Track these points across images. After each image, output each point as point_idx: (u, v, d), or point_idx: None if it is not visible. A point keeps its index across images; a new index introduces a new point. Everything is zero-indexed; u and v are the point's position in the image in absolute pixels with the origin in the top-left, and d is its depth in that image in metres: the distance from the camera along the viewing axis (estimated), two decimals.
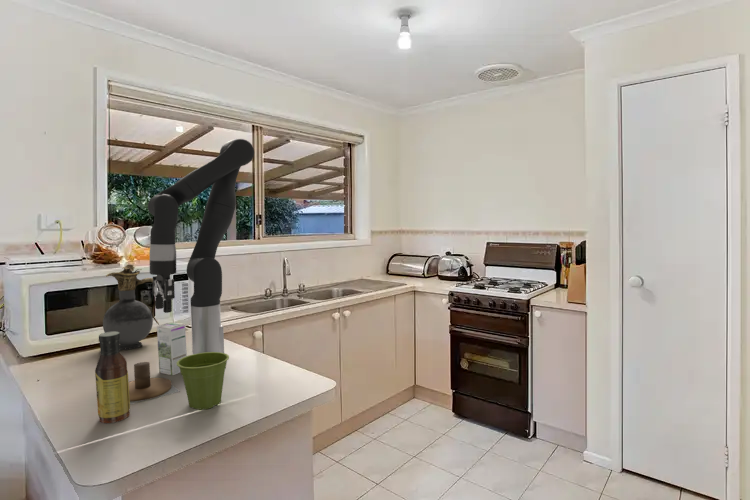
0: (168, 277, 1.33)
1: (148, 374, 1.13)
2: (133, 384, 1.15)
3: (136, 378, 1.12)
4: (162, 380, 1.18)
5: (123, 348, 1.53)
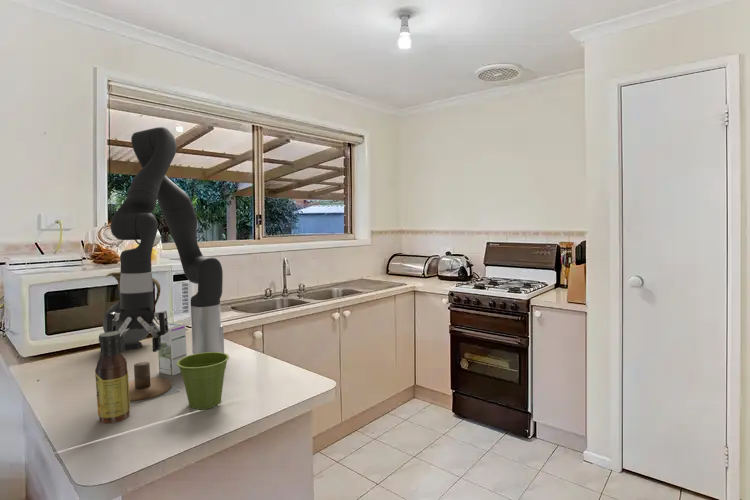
0: None
1: (148, 374, 1.13)
2: (133, 384, 1.15)
3: (136, 378, 1.12)
4: (162, 380, 1.18)
5: None
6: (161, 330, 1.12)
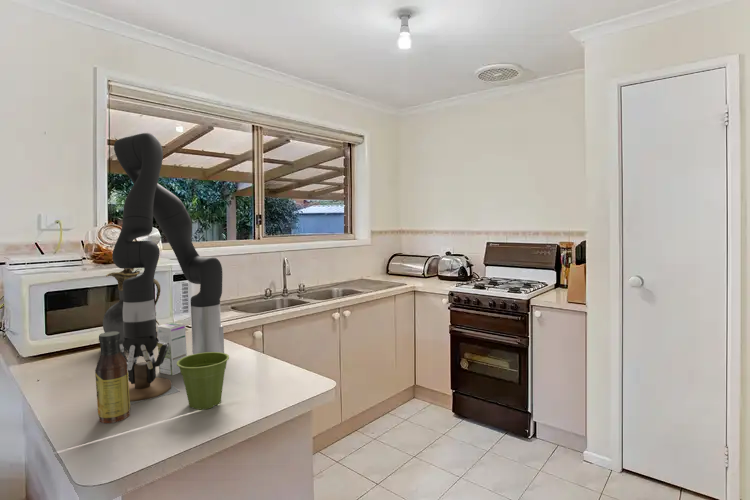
0: None
1: None
2: (133, 384, 1.15)
3: (136, 378, 1.12)
4: (162, 380, 1.18)
5: None
6: (157, 361, 1.13)
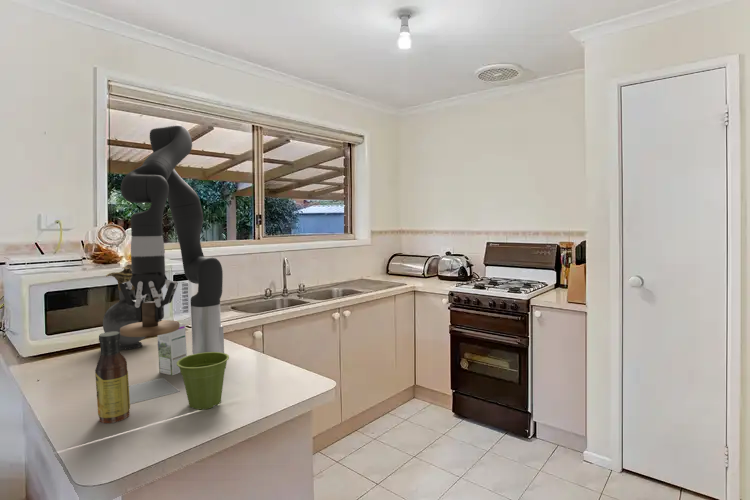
0: None
1: None
2: (141, 324, 1.12)
3: (143, 316, 1.09)
4: (170, 321, 1.15)
5: (123, 348, 1.53)
6: (165, 299, 1.09)
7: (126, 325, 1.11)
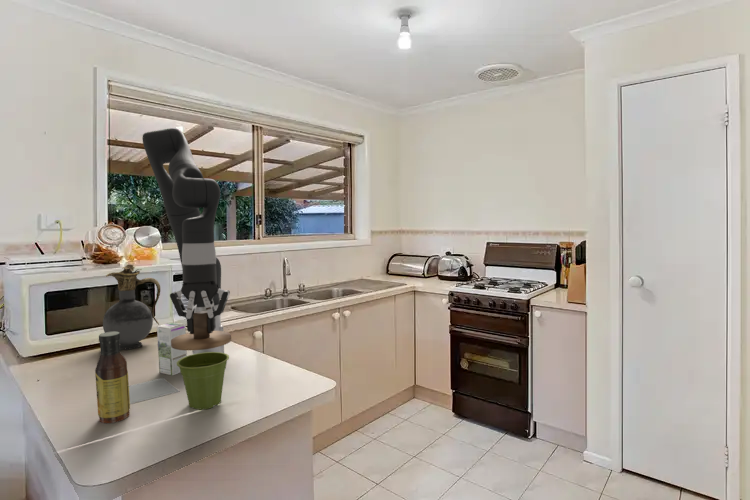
0: None
1: None
2: (190, 335, 1.06)
3: (195, 327, 1.03)
4: (220, 332, 1.09)
5: (123, 348, 1.53)
6: (218, 309, 1.04)
7: (175, 337, 1.05)
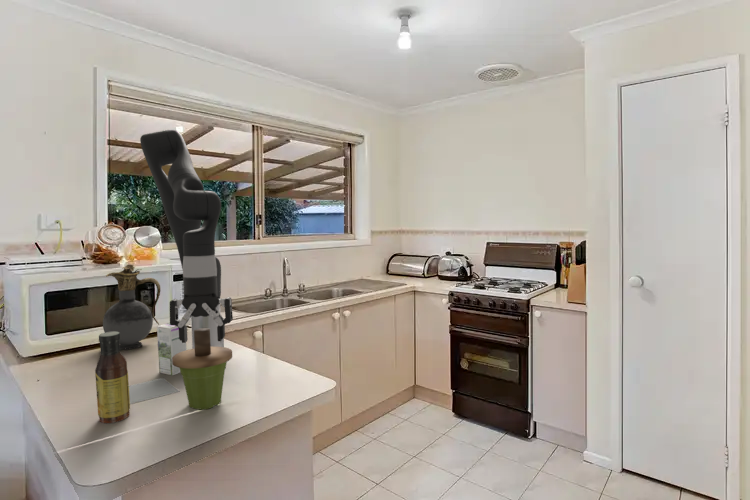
0: None
1: (209, 341, 1.05)
2: (191, 352, 1.07)
3: (197, 344, 1.03)
4: (221, 349, 1.09)
5: (123, 348, 1.53)
6: (227, 318, 1.04)
7: (177, 354, 1.05)
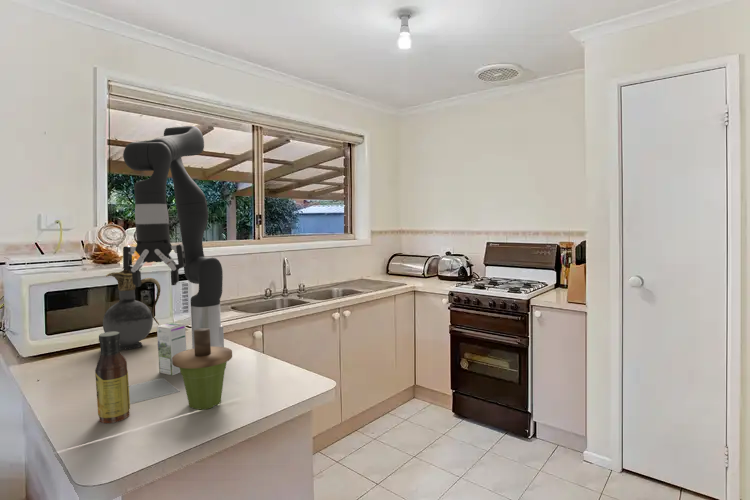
0: None
1: (209, 341, 1.05)
2: (191, 352, 1.07)
3: (197, 344, 1.03)
4: (221, 348, 1.09)
5: (123, 348, 1.53)
6: (179, 263, 1.10)
7: (176, 354, 1.05)
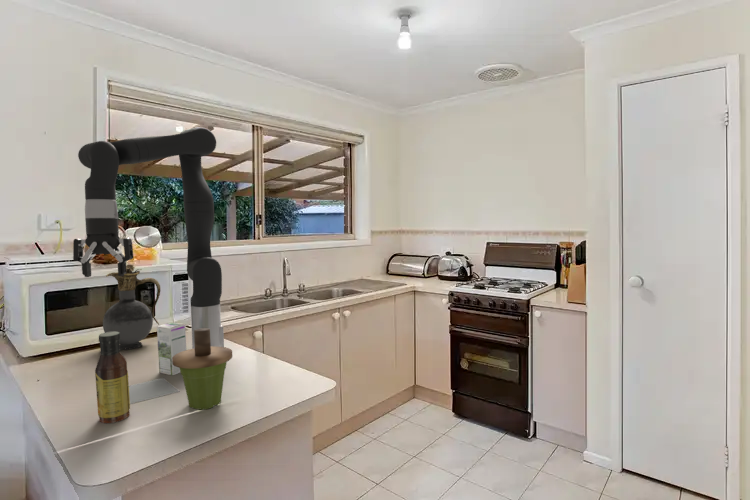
0: None
1: (209, 341, 1.05)
2: (191, 352, 1.07)
3: (197, 344, 1.03)
4: (221, 348, 1.09)
5: (123, 348, 1.53)
6: (126, 255, 1.17)
7: (176, 354, 1.05)
